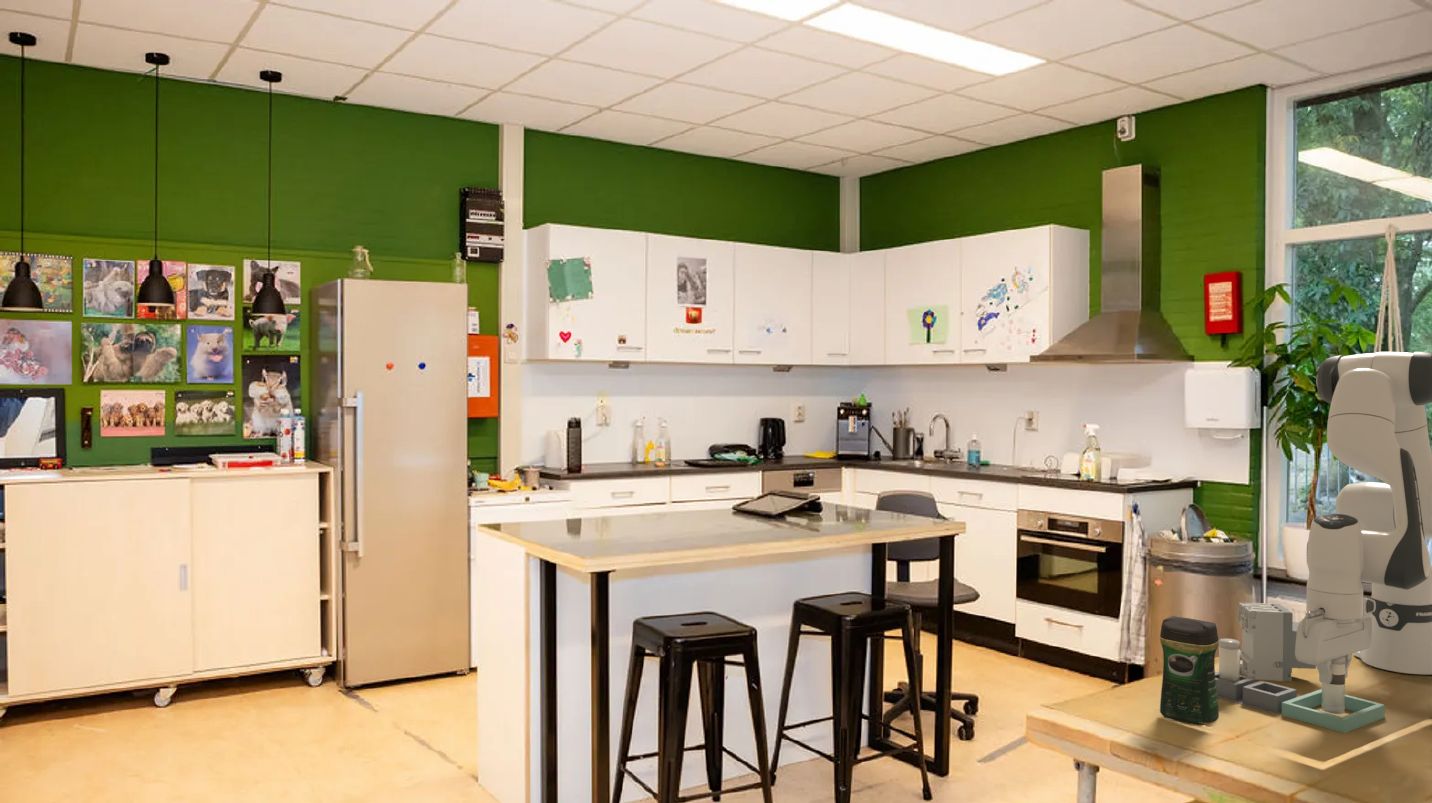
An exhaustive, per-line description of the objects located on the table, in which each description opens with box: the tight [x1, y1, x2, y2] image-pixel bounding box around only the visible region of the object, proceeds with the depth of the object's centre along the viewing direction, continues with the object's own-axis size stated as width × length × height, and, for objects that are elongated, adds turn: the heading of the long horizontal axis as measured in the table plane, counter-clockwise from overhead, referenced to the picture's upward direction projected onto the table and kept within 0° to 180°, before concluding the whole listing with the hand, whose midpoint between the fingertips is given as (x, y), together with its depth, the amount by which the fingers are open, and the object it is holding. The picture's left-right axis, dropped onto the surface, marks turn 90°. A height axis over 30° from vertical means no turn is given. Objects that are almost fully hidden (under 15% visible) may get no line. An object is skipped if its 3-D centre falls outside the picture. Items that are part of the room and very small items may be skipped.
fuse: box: [1218, 638, 1241, 683], centre depth 200 cm, size 4×4×10 cm
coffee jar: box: [1159, 615, 1220, 726], centre depth 189 cm, size 10×8×19 cm
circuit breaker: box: [1237, 602, 1317, 682], centre depth 211 cm, size 8×14×15 cm, turn 78°
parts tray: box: [1281, 688, 1386, 734], centre depth 187 cm, size 14×11×3 cm
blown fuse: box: [1321, 656, 1346, 715], centre depth 187 cm, size 4×4×10 cm
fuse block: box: [1215, 671, 1298, 715], centre depth 197 cm, size 9×15×4 cm, turn 32°
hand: (1333, 680), depth 187 cm, fingers closed on blown fuse, 3 cm apart
